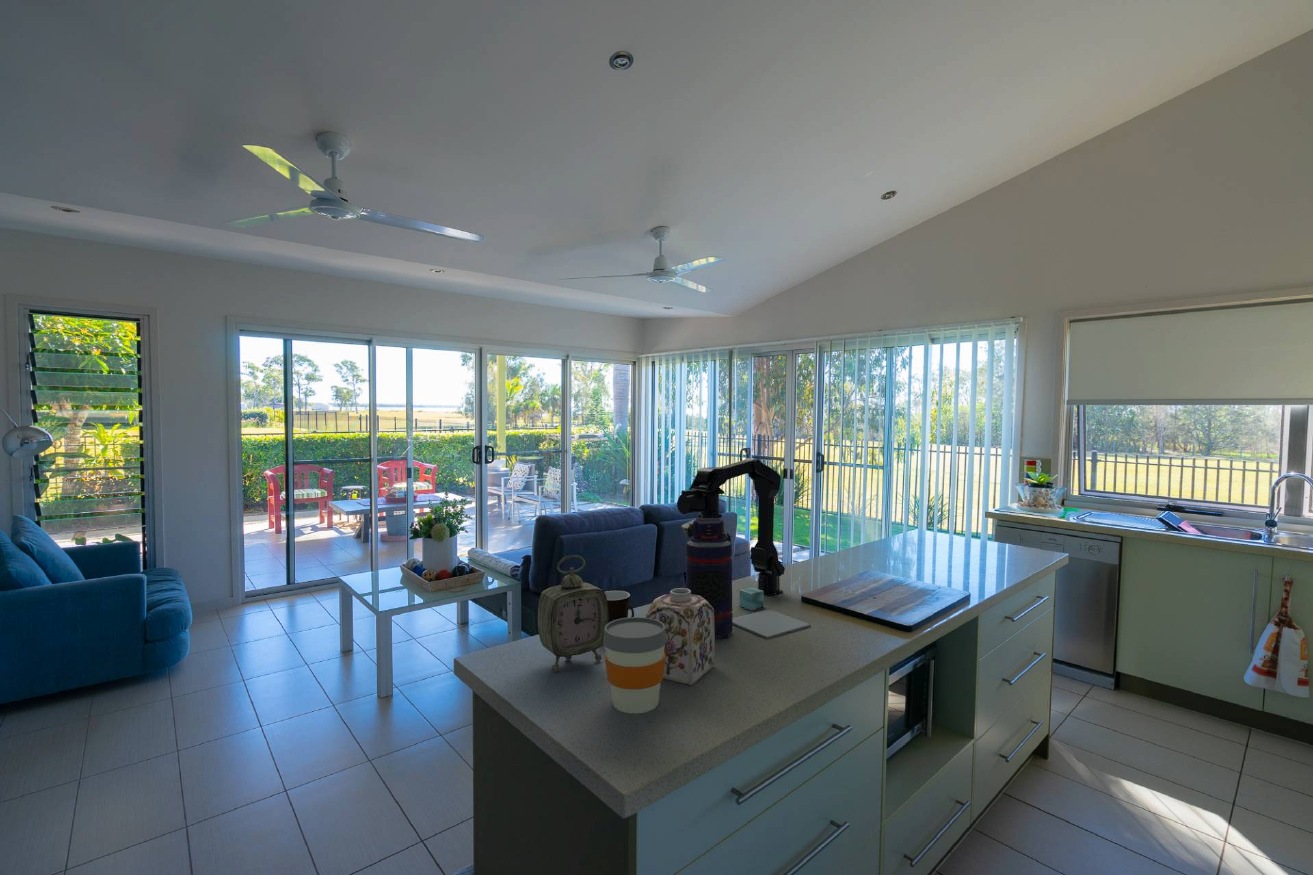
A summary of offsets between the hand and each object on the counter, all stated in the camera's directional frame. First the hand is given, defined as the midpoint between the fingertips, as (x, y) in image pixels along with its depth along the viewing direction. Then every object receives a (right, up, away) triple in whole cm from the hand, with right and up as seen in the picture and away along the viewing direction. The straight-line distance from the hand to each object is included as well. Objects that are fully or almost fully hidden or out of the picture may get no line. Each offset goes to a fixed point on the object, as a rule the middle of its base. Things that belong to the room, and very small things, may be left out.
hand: (711, 562), depth 175 cm
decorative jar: (-11, -15, -44) cm, 48 cm away
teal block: (+12, -14, +1) cm, 18 cm away
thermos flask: (-2, -14, -21) cm, 25 cm away
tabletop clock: (-36, -15, -39) cm, 55 cm away
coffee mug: (-27, -15, -22) cm, 38 cm away
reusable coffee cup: (-20, -15, -59) cm, 64 cm away
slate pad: (+14, -14, -15) cm, 25 cm away
